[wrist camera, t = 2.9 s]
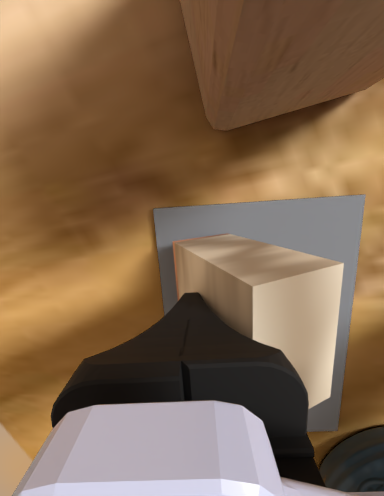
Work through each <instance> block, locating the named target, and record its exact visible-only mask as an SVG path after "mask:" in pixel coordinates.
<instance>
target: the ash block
mask: <svg viewBox="0 0 384 496" xmlns="http://www.w3.org/2000/svg"><path fill="white" fill-rule="evenodd" d="M172 242H173V253H174V264H175V275H176V286H177V297H178V301H179V299H180V298H181V297H182V295H183V294H184V293H191V292H198V293H199V294H200V295H201V296H202V298H203V300H204V301H205V303H206V304H207V305H208V307H209V308H210V309H211V310H212V312H213V313H214V314H215V315H216V316H217V317H218V318H219V319H220V320H221V321H223V322H224V323H225V324H226V325H228V326H229V327H231V328H232V329H234V330H235V331H237V332H239V333H240V334H242V335H244V336H246V337H248V338H250V339H253V340H255V341H257V342H260V343H262V344H265V345H268V346H271V347H274V348H277V349H280V350H282V352H283V353H284V355H285V356H286V357H287V358H288V360H289V361H290V362H291V364H292V365H293V367H294V368H295V370H296V371H297V373H298V374H299V376H300V378H301V380H302V381H303V383H304V386H305V388H306V390H307V392H308V400H309V408H308V409H310V408H311V407H313V406H315V405H317V404H319V403H320V402H322V401H324V400H326V399H328V398H329V397H330V394H331V384H332V375H333V365H334V355H335V345H336V336H337V326H338V316H339V306H340V297H341V287H342V277H343V267H344V263H342V262H338V261H334V260H330V259H326V258H322V257H318V256H314V255H310V254H306V253H303V252H299V251H295V250H291V249H287V248H283V247H279V246H275V245H271V244H267V243H264V242H260V241H256V240H252V239H248V238H244V237H240V236H236V235H232V234H228V233H226V234H220V235H213V236H206V237H199V238H192V239H185V240H179V241H172Z"/></svg>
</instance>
